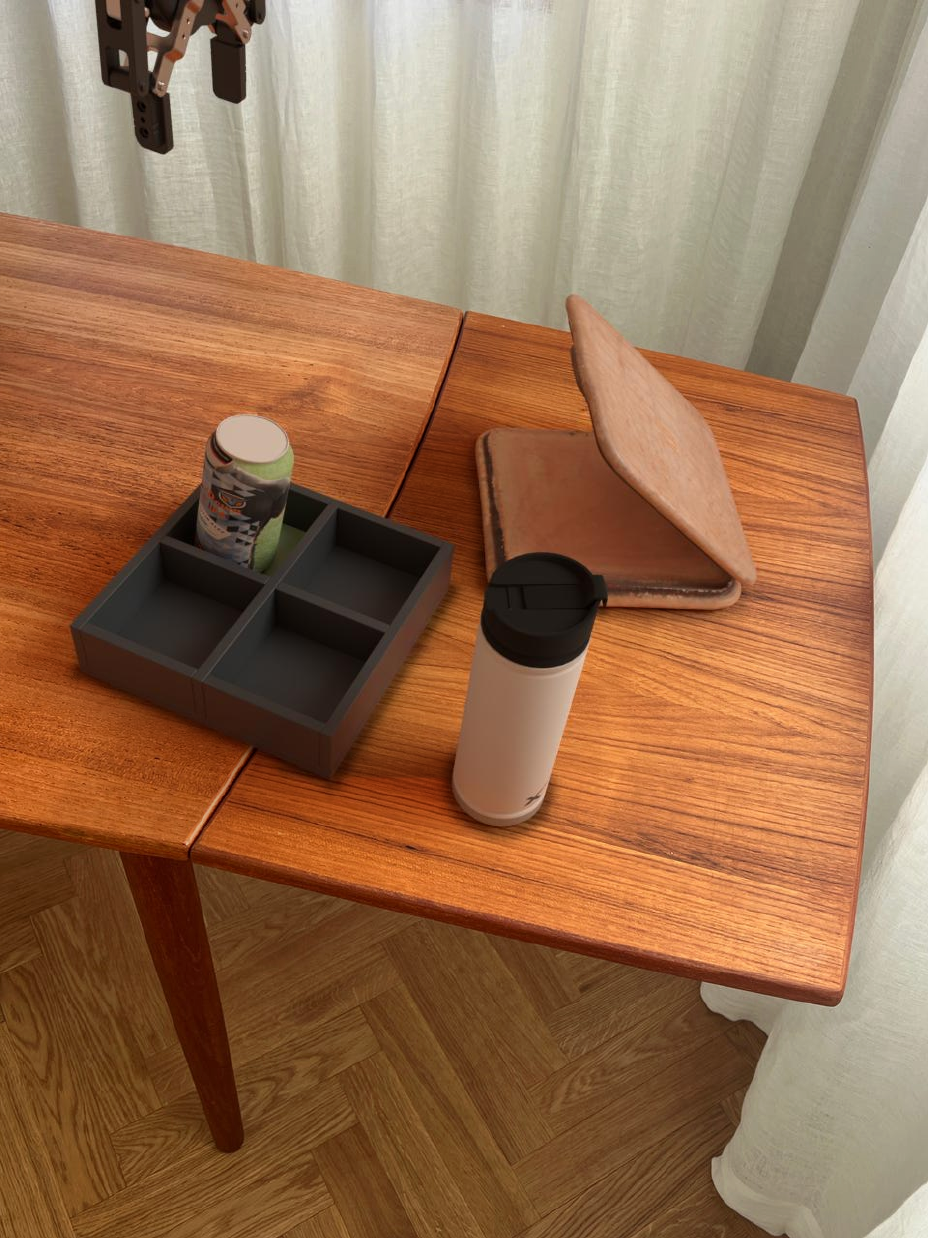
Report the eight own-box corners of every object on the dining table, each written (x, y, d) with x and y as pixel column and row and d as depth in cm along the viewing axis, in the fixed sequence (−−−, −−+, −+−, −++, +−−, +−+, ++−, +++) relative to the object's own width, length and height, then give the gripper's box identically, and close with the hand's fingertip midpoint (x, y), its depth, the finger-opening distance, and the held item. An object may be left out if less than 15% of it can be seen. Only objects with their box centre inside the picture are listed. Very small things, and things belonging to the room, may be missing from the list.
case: (753, 617, 87) (824, 461, 75) (487, 610, 84) (516, 448, 72) (702, 446, 100) (756, 290, 88) (471, 435, 98) (494, 274, 86)
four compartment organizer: (80, 672, 77) (68, 625, 73) (228, 504, 89) (225, 456, 85) (330, 780, 73) (331, 737, 69) (448, 589, 86) (455, 544, 82)
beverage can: (190, 535, 85) (175, 410, 76) (285, 521, 87) (282, 397, 78) (204, 594, 81) (190, 470, 72) (303, 578, 83) (302, 456, 74)
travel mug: (554, 828, 73) (617, 630, 58) (454, 829, 72) (491, 628, 57) (543, 748, 77) (600, 544, 62) (448, 748, 76) (482, 541, 61)
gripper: (189, -213, 65) (205, 68, 78) (30, -160, 56) (77, 149, 69) (301, -182, 64) (299, 100, 76) (157, -122, 55) (181, 186, 67)
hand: (194, 123), depth 72 cm, fingers open, 8 cm apart
